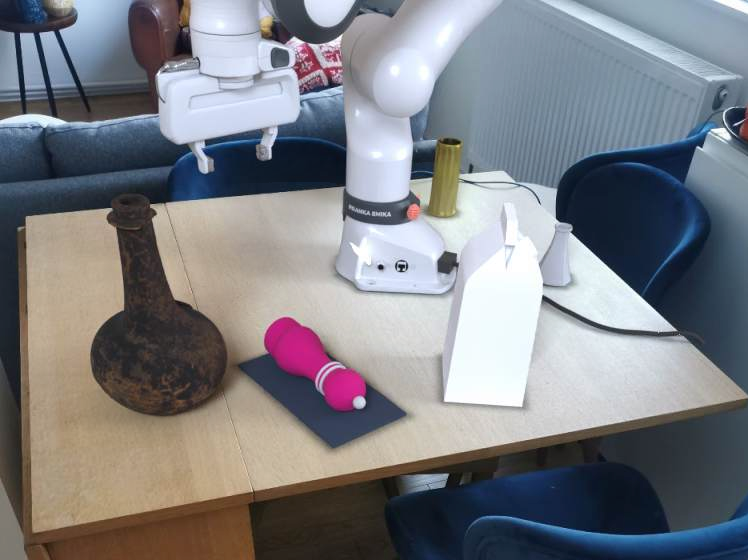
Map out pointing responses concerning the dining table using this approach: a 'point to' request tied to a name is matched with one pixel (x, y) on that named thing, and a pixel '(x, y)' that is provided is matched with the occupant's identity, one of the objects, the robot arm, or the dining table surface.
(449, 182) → the vase
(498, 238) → the milk
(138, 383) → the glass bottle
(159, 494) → the dining table surface
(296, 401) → the mat
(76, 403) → the dining table surface
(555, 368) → the dining table surface
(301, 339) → the pepper mill
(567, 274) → the flask
